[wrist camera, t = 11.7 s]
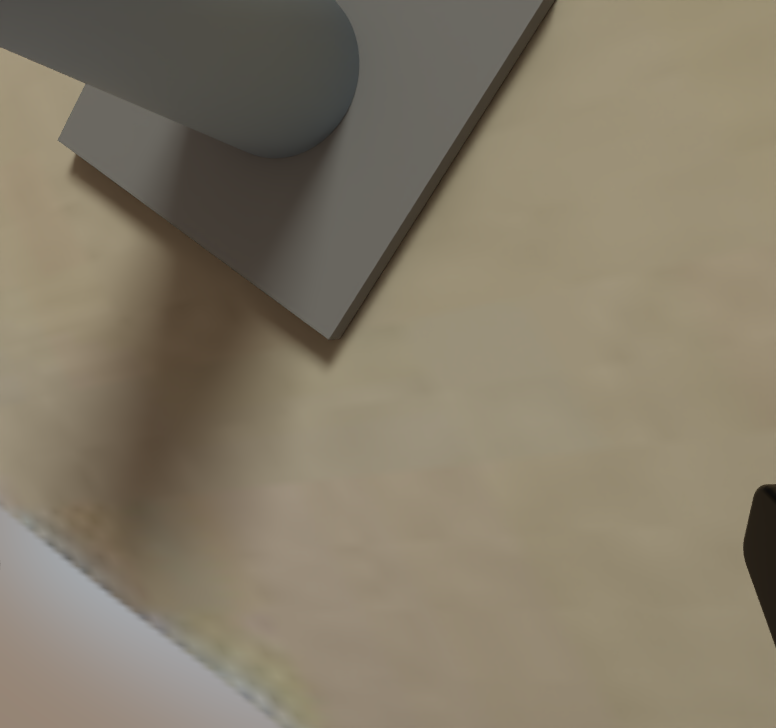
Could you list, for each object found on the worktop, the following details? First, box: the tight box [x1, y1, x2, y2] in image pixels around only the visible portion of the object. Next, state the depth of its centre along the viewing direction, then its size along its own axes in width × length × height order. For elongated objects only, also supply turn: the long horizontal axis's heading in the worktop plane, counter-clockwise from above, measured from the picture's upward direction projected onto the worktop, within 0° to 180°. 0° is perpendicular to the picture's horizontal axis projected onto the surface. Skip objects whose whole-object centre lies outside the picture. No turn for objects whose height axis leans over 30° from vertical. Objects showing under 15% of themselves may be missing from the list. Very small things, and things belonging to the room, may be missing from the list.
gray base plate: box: [58, 0, 555, 340], centre depth 19 cm, size 10×10×1 cm
